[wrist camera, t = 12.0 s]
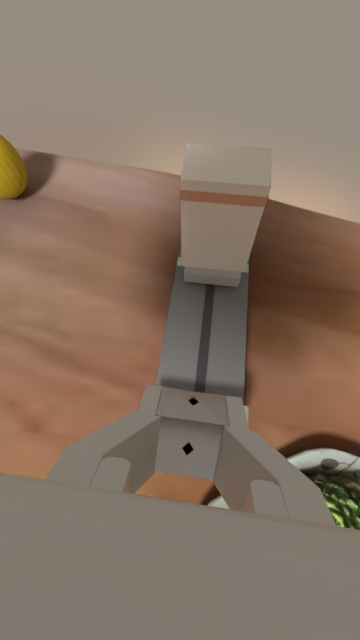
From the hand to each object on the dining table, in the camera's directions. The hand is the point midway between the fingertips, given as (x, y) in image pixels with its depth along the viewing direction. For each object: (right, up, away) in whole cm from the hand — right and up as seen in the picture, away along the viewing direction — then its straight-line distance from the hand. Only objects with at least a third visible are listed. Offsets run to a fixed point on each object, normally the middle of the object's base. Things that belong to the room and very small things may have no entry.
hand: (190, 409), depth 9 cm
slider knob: (+3, +8, +19) cm, 21 cm away
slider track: (+2, +3, +19) cm, 19 cm away
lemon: (-20, +18, +27) cm, 38 cm away
